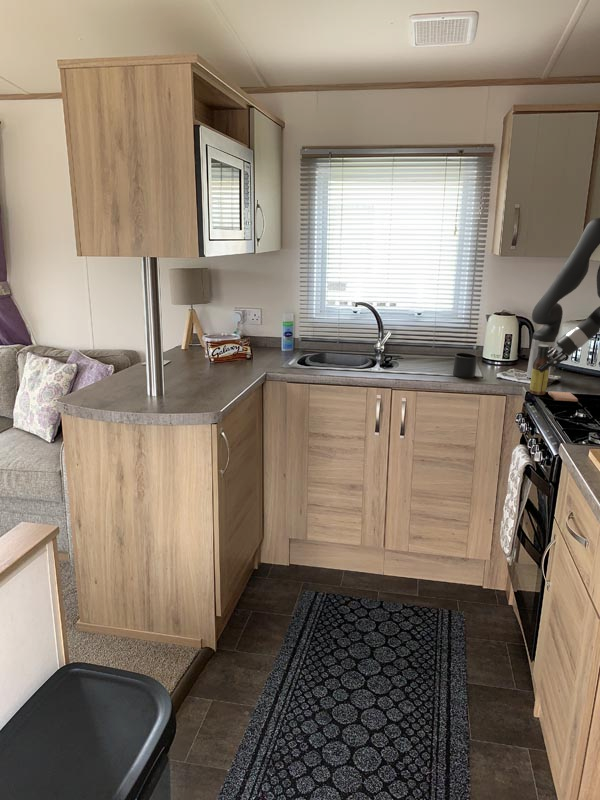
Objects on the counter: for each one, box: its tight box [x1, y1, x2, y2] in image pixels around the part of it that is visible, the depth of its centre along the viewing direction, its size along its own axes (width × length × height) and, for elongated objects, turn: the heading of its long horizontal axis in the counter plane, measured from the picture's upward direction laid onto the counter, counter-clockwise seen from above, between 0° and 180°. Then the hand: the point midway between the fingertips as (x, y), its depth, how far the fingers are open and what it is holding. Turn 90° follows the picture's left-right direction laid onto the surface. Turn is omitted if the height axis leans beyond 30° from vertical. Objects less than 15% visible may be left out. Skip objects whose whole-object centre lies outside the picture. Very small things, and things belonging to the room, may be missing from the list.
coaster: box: [547, 390, 579, 402], centre depth 241 cm, size 8×8×1 cm
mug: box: [452, 352, 478, 379], centre depth 267 cm, size 9×12×9 cm
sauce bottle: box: [529, 344, 549, 396], centre depth 242 cm, size 6×6×20 cm
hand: (536, 368), depth 242 cm, fingers closed on sauce bottle, 6 cm apart
